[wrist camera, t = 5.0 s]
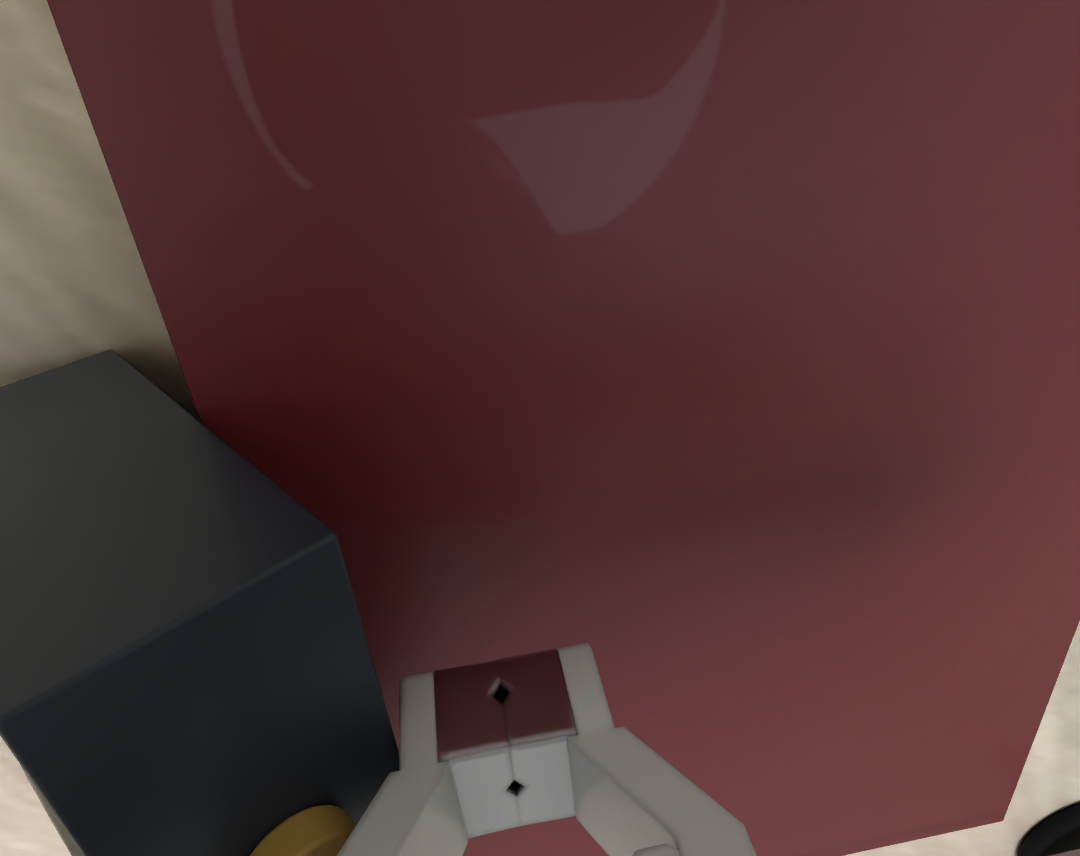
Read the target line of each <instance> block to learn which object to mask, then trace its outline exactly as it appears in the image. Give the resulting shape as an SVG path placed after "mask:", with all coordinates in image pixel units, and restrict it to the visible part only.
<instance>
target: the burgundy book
mask: <svg viewBox="0 0 1080 856" xmlns="http://www.w3.org/2000/svg"><path fill="white" fill-rule="evenodd" d="M47 2H48V5H49V8H50V11H51V13H52V16H53V19H54V21H55V24H56V27H57V30H58V32H59V35H60V38H61V41H62V43H63V46H64V49H65V52H66V54H67V57H68V60H69V63H70V65H71V68H72V71H73V73H74V76H75V79H76V82H77V84H78V87H79V90H80V93H81V95H82V98H83V101H84V104H85V106H86V109H87V112H88V115H89V117H90V120H91V123H92V125H93V128H94V131H95V134H96V136H97V139H98V142H99V145H100V147H101V150H102V153H103V156H104V158H105V161H106V164H107V166H108V169H109V172H110V175H111V177H112V180H113V183H114V186H115V188H116V191H117V194H118V197H119V199H120V202H121V205H122V208H123V210H124V213H125V216H126V218H127V221H128V224H129V227H130V229H131V232H132V235H133V238H134V240H135V243H136V246H137V249H138V251H139V254H140V257H141V260H142V262H143V265H144V268H145V270H146V273H147V276H148V279H149V281H150V284H151V287H152V290H153V292H154V295H155V298H156V301H157V303H158V306H159V309H160V311H161V314H162V317H163V320H164V322H165V325H166V328H167V331H168V333H169V336H170V339H171V342H172V344H173V347H174V350H175V353H176V355H177V358H178V361H179V363H180V366H181V369H182V372H183V374H184V377H185V380H186V383H187V385H188V388H189V391H190V394H191V396H192V399H193V402H194V405H195V407H196V410H197V413H198V415H199V418H200V421H201V423H202V424H203V425H204V426H206V427H207V428H208V429H209V430H211V431H212V432H213V433H214V434H215V435H217V436H218V437H219V438H220V439H222V440H223V441H224V442H225V443H226V444H228V445H229V446H230V447H231V448H233V449H234V450H235V451H236V452H237V453H239V454H240V455H241V456H242V457H244V458H245V459H246V460H247V461H248V462H250V463H251V464H252V465H253V466H255V467H256V468H257V469H258V470H259V471H261V472H262V473H263V474H264V475H266V476H267V477H268V478H269V479H270V480H272V481H273V482H274V483H275V484H277V485H278V486H279V487H280V488H281V489H283V490H284V491H285V492H286V493H288V494H289V495H290V496H291V497H292V498H294V499H295V500H296V501H297V502H299V503H300V504H301V505H302V506H304V507H305V508H306V509H307V510H308V511H310V512H311V513H312V514H313V515H315V516H316V517H317V518H318V519H319V520H321V521H322V522H323V523H324V524H326V525H327V526H328V527H329V528H330V529H332V530H333V531H334V532H335V533H336V534H337V536H338V539H339V543H340V546H341V550H342V553H343V557H344V560H345V564H346V567H347V571H348V574H349V578H350V582H351V585H352V589H353V592H354V596H355V599H356V603H357V606H358V610H359V613H360V617H361V620H362V624H363V627H364V631H365V634H366V638H367V641H368V645H369V648H370V652H371V656H372V659H373V663H374V666H375V670H376V673H377V677H378V680H379V684H380V687H381V691H382V694H383V698H384V701H385V705H386V708H387V712H388V715H389V719H390V722H391V726H392V730H393V733H394V737H395V740H396V744H397V747H398V751H399V685H400V681H401V677H403V676H409V675H415V674H421V673H427V672H433V671H436V670H442V669H448V668H454V667H461V666H467V665H473V664H479V663H485V662H492V661H494V660H498V659H503V658H508V657H513V656H518V655H523V654H528V653H533V652H538V651H543V650H548V649H553V648H556V650H557V648H560V647H565V646H570V645H576V644H581V643H586V642H588V643H589V645H590V646H591V648H592V651H593V655H594V658H595V662H596V665H597V668H598V672H599V675H600V679H601V682H602V686H603V689H604V692H605V696H606V699H607V703H608V706H609V710H610V713H611V716H612V720H613V723H614V727H615V728H616V727H622V726H625V727H626V728H627V729H628V730H629V731H631V732H632V733H633V734H634V735H636V736H637V737H638V738H639V739H640V740H642V741H643V742H644V743H645V744H646V745H648V746H649V747H650V748H651V749H653V750H654V751H655V752H656V753H657V754H659V755H660V756H661V757H662V758H663V759H665V760H666V761H667V762H668V763H670V764H671V765H672V766H673V767H674V768H676V769H677V770H678V771H679V772H681V773H682V774H683V775H684V776H685V777H687V778H688V779H689V780H690V781H691V782H693V783H694V784H695V785H696V786H698V787H699V788H700V789H701V790H702V791H704V792H705V793H706V794H707V795H708V796H710V797H711V798H712V799H713V800H715V801H716V802H717V803H718V804H719V805H721V806H722V807H723V808H724V809H725V810H727V811H728V812H729V813H730V814H732V815H733V816H734V817H735V818H736V819H738V820H739V821H740V822H741V823H742V824H744V826H745V829H746V831H747V833H748V836H749V838H750V841H751V843H752V846H753V848H754V851H755V853H756V856H843V855H847V854H852V853H857V852H861V851H866V850H870V849H875V848H880V847H884V846H889V845H894V844H898V843H903V842H907V841H912V840H917V839H921V838H926V837H931V836H935V835H940V834H944V833H949V832H954V831H958V830H963V829H968V828H972V827H977V826H981V825H986V824H991V823H995V822H1000V821H1003V819H1004V817H1005V814H1006V811H1007V809H1008V806H1009V804H1010V801H1011V798H1012V796H1013V793H1014V791H1015V788H1016V785H1017V783H1018V780H1019V778H1020V775H1021V772H1022V770H1023V767H1024V764H1025V762H1026V759H1027V757H1028V754H1029V751H1030V749H1031V746H1032V744H1033V741H1034V738H1035V736H1036V733H1037V730H1038V728H1039V725H1040V723H1041V720H1042V717H1043V715H1044V712H1045V710H1046V707H1047V704H1048V702H1049V699H1050V696H1051V694H1052V691H1053V689H1054V686H1055V683H1056V681H1057V678H1058V676H1059V673H1060V670H1061V668H1062V665H1063V663H1064V660H1065V657H1066V655H1067V652H1068V649H1069V647H1070V644H1071V642H1072V639H1073V636H1074V634H1075V631H1076V629H1077V626H1078V623H1079V621H1080V0H47ZM467 840H468V844H467V846H466V848H465V851H464V853H463V855H462V856H609V855H608V854H607V853H606V852H605V850H604V849H603V848H602V847H601V846H600V845H599V844H598V842H597V841H596V840H595V839H594V838H593V837H592V836H591V835H590V833H589V832H588V831H587V830H586V829H585V828H584V827H583V825H582V824H581V823H580V822H579V821H578V820H577V818H576V816H573V817H567V818H562V819H556V820H551V821H545V822H539V823H534V824H528V825H523V826H518V827H514V828H510V829H505V830H501V831H497V832H493V833H489V834H484V835H480V836H476V837H472V838H468V839H467Z"/></svg>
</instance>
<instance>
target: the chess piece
mask: <svg viewBox="0 0 1080 856" xmlns="http://www.w3.org/2000/svg"><path fill="white" fill-rule="evenodd" d="M1077 849H1080V804H1079V805H1076V806H1073V807H1071V808H1068V809H1066V810H1064V811H1062V812H1060V813H1058V814H1056V815H1054V816H1052V817H1051V818H1049V819H1048V820H1046V821H1045V822H1043V823H1042V824H1040V825H1039V826H1038V827H1037V828H1035V829H1034V830H1033V831H1032V832H1031V833H1030V834H1029V835H1028V836H1027V837H1026V839H1025V840H1024V841H1023V843H1022V844H1021V847H1020V849H1019V852H1018V856H1050V855H1054V854H1059V853H1063V852H1068V851H1072V850H1077Z"/></svg>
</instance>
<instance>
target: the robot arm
mask: <svg viewBox="0 0 1080 856" xmlns="http://www.w3.org/2000/svg"><path fill="white" fill-rule="evenodd" d="M573 816H576V818H577V820H578V821H579V822H580V823H581V824H582V825H583V827H584V828H585V829H586V830H587V831H588V832H589V833H590V835H591V836H592V837H593V838H594V839H595V840H596V841H597V842H598V844H599V845H600V846H601V847H602V848H603V849H604V850H605V852H606V853H607V854H608V855H609V856H756V853H755V851H754V848H753V846H752V843H751V841H750V838H749V836H748V833H747V831H746V829H745V826H744V824H742V823H741V822H740V821H739V820H738V819H736V818H735V817H734V816H733V815H732V814H730V813H729V812H728V811H727V810H725V809H724V808H723V807H722V806H721V805H719V804H718V803H717V802H716V801H715V800H713V799H712V798H711V797H710V796H708V795H707V794H706V793H705V792H704V791H702V790H701V789H700V788H699V787H698V786H696V785H695V784H694V783H693V782H691V781H690V780H689V779H688V778H687V777H685V776H684V775H683V774H682V773H681V772H679V771H678V770H677V769H676V768H674V767H673V766H672V765H671V764H670V763H668V762H667V761H666V760H665V759H663V758H662V757H661V756H660V755H659V754H657V753H656V752H655V751H654V750H653V749H651V748H650V747H649V746H648V745H646V744H645V743H644V742H643V741H642V740H640V739H639V738H638V737H637V736H636V735H634V734H633V733H632V732H631V731H629V730H628V729H627V728H626V727H625V726H622V727H616V728H615V727H614V723H613V720H612V716H611V713H610V710H609V706H608V703H607V699H606V696H605V692H604V689H603V686H602V682H601V679H600V675H599V672H598V668H597V665H596V662H595V658H594V655H593V651H592V648H591V646H590V645H589V643H588V642H586V643H581V644H576V645H570V646H565V647H560V648H557V650H556V648H553V649H548V650H543V651H538V652H533V653H528V654H523V655H518V656H513V657H508V658H503V659H498V660H494V661H492V662H485V663H479V664H473V665H467V666H461V667H454V668H448V669H442V670H436V671H433V672H427V673H421V674H415V675H409V676H403V677H401V681H400V685H399V771H395V772H390V773H389V774H388V776H387V778H386V779H385V781H384V782H383V784H382V785H381V787H380V788H379V790H378V792H377V793H376V795H375V796H374V798H373V799H372V801H371V803H370V804H369V806H368V807H367V809H366V810H365V812H364V814H363V815H362V817H361V818H360V820H359V821H358V823H357V825H356V826H355V828H354V829H353V831H352V832H351V834H350V835H349V837H348V839H347V840H346V842H345V843H344V845H343V846H342V848H341V850H340V851H339V853H338V854H337V856H462V855H463V853H464V851H465V848H466V846H467V844H468V840H467V839H468V838H472V837H476V836H480V835H484V834H489V833H493V832H497V831H501V830H505V829H510V828H514V827H518V826H523V825H528V824H534V823H539V822H545V821H551V820H556V819H562V818H567V817H573ZM1050 856H1080V849H1077V850H1072V851H1068V852H1063V853H1059V854H1054V855H1050Z"/></svg>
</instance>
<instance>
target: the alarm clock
mask: <svg viewBox="0 0 1080 856" xmlns="http://www.w3.org/2000/svg"><path fill="white" fill-rule="evenodd" d="M0 735H1V737H2V738H3V740H4V741H5V743H6V744H7V746H8V747H9V748H10V750H11V751H12V753H13V754H14V756H15V757H16V759H17V760H18V761H19V763H20V765H21V767H22V769H23V770H24V772H25V774H26V776H27V778H28V780H29V782H30V783H31V785H32V787H33V789H34V791H35V792H36V794H37V796H38V798H39V800H40V801H41V803H42V805H43V807H44V809H45V810H46V812H47V814H48V816H49V817H50V819H51V821H52V823H53V824H54V826H55V828H56V829H57V831H58V833H59V835H60V836H61V838H62V840H63V842H64V843H65V845H66V847H67V848H68V850H69V852H70V853H71V855H72V856H337V854H338V853H339V851H340V850H341V848H342V846H343V845H344V843H345V842H346V840H347V839H348V837H349V835H350V834H351V832H352V831H353V829H354V828H355V826H356V825H357V823H358V821H359V820H360V818H361V817H362V815H363V814H364V812H365V810H366V809H367V807H368V806H369V804H370V803H371V801H372V799H373V798H374V796H375V795H376V793H377V792H378V790H379V788H380V787H381V785H382V784H383V782H384V781H385V779H386V778H387V776H388V774H389V773H390V772H395V771H399V751H398V747H397V744H396V740H395V737H394V733H393V730H392V726H391V722H390V719H389V715H388V712H387V708H386V705H385V701H384V698H383V694H382V691H381V687H380V684H379V680H378V677H377V673H376V670H375V666H374V663H373V659H372V656H371V652H370V648H369V645H368V641H367V638H366V634H365V631H364V627H363V624H362V620H361V617H360V613H359V610H358V606H357V603H356V599H355V596H354V592H353V589H352V585H351V582H350V578H349V574H348V571H347V567H346V564H345V560H344V557H343V553H342V550H341V546H340V543H339V539H338V536H337V534H336V533H335V532H334V531H333V530H332V529H330V528H329V527H328V526H327V525H326V524H324V523H323V522H322V521H321V520H319V519H318V518H317V517H316V516H315V515H313V514H312V513H311V512H310V511H308V510H307V509H306V508H305V507H304V506H302V505H301V504H300V503H299V502H297V501H296V500H295V499H294V498H292V497H291V496H290V495H289V494H288V493H286V492H285V491H284V490H283V489H281V488H280V487H279V486H278V485H277V484H275V483H274V482H273V481H272V480H270V479H269V478H268V477H267V476H266V475H264V474H263V473H262V472H261V471H259V470H258V469H257V468H256V467H255V466H253V465H252V464H251V463H250V462H248V461H247V460H246V459H245V458H244V457H242V456H241V455H240V454H239V453H237V452H236V451H235V450H234V449H233V448H231V447H230V446H229V445H228V444H226V443H225V442H224V441H223V440H222V439H220V438H219V437H218V436H217V435H215V434H214V433H213V432H212V431H211V430H209V429H208V428H207V427H206V426H204V425H203V424H202V423H201V422H200V421H198V420H197V419H196V418H195V417H193V416H192V415H191V414H190V413H189V412H187V411H186V410H185V409H184V408H182V407H181V406H180V405H179V404H178V403H176V402H175V401H174V400H173V399H171V398H170V397H169V396H168V395H167V394H165V393H164V392H163V391H162V390H160V389H159V388H158V387H157V386H156V385H154V384H153V383H152V382H151V381H149V380H148V379H147V378H146V377H145V376H143V375H142V374H141V373H140V372H138V371H137V370H136V369H135V368H134V367H132V366H131V365H130V364H129V363H127V362H126V361H125V360H124V359H123V358H121V357H120V356H119V355H118V354H116V353H115V352H114V351H113V350H109V351H106V352H103V353H100V354H97V355H94V356H91V357H88V358H85V359H82V360H79V361H76V362H73V363H70V364H67V365H65V366H62V367H59V368H56V369H53V370H50V371H47V372H44V373H41V374H38V375H35V376H32V377H29V378H26V379H23V380H21V381H18V382H15V383H12V384H9V385H6V386H3V387H0Z"/></svg>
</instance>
